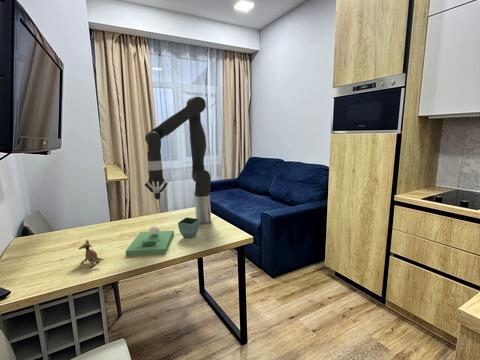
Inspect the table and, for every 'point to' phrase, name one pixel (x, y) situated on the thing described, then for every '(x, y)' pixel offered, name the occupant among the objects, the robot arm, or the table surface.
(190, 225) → the flower pot
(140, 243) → the putting mat
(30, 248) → the table surface
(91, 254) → the dinosaur figurine
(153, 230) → the ball
